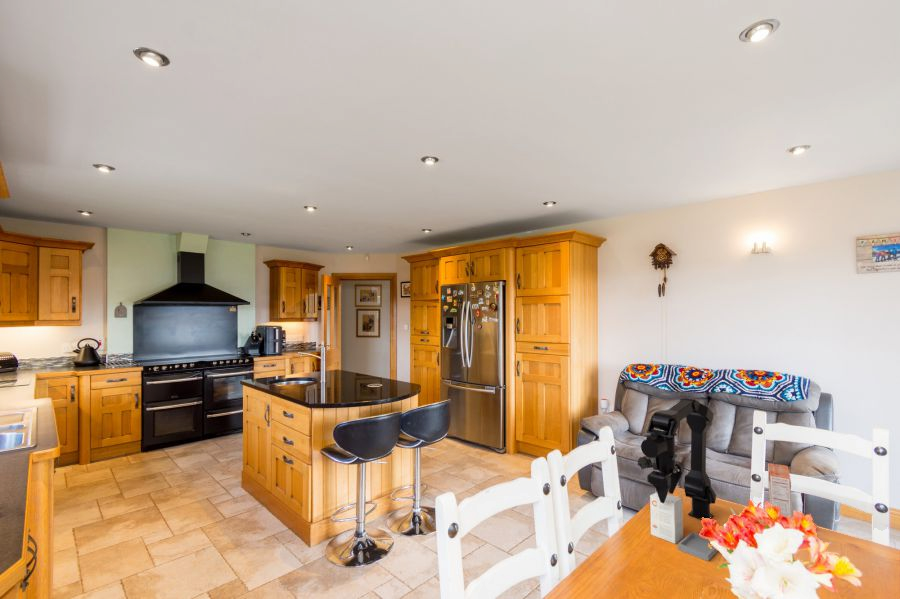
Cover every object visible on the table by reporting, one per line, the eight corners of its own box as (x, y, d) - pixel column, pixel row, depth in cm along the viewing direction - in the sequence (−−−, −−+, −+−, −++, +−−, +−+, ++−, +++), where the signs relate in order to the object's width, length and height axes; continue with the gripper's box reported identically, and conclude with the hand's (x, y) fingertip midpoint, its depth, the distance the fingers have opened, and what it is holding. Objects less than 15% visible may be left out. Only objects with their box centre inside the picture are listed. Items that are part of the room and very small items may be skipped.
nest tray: (691, 537, 142) (691, 531, 142) (721, 547, 136) (721, 542, 136) (677, 549, 135) (677, 543, 135) (708, 561, 128) (708, 555, 128)
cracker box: (769, 521, 153) (767, 461, 153) (790, 526, 149) (789, 465, 150) (770, 538, 141) (768, 474, 142) (793, 543, 138) (791, 478, 138)
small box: (683, 538, 142) (682, 498, 142) (675, 544, 138) (674, 503, 138) (658, 528, 148) (658, 490, 148) (650, 534, 144) (649, 495, 144)
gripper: (649, 439, 155) (651, 482, 155) (630, 452, 142) (631, 500, 141) (683, 445, 148) (685, 491, 147) (666, 460, 134) (667, 510, 134)
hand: (666, 497), depth 143 cm, fingers open, 9 cm apart
